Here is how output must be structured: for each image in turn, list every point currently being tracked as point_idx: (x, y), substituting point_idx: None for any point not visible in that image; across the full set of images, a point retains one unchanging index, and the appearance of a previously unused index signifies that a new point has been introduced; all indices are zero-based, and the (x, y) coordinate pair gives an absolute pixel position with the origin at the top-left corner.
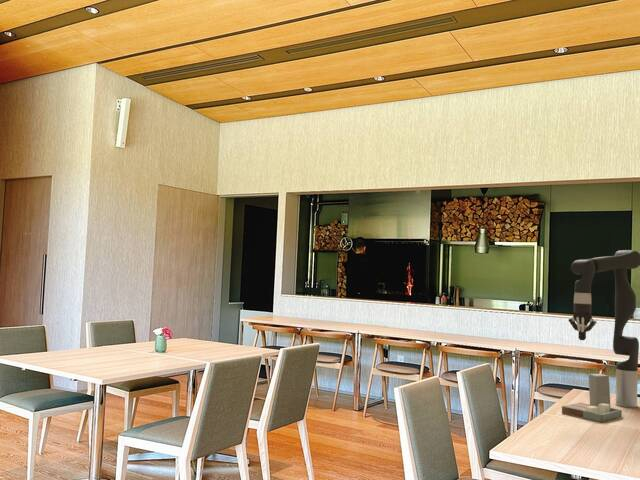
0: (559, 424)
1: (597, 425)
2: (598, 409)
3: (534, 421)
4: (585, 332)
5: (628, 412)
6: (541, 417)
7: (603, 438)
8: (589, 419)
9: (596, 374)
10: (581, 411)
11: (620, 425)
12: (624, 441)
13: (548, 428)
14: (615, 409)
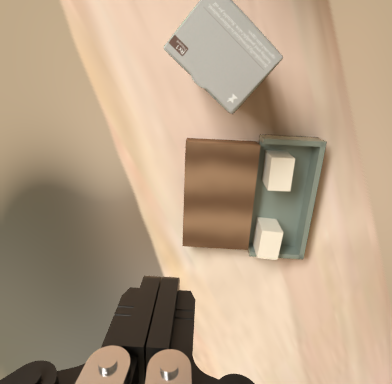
0: (237, 336)
1: (299, 281)
2: (265, 184)
3: None
4: (192, 372)
5: (313, 29)
6: None
7: (343, 363)
8: None
9: (209, 48)
10: (241, 247)
11: (341, 236)
12: (381, 354)
13: None
14: (307, 145)
